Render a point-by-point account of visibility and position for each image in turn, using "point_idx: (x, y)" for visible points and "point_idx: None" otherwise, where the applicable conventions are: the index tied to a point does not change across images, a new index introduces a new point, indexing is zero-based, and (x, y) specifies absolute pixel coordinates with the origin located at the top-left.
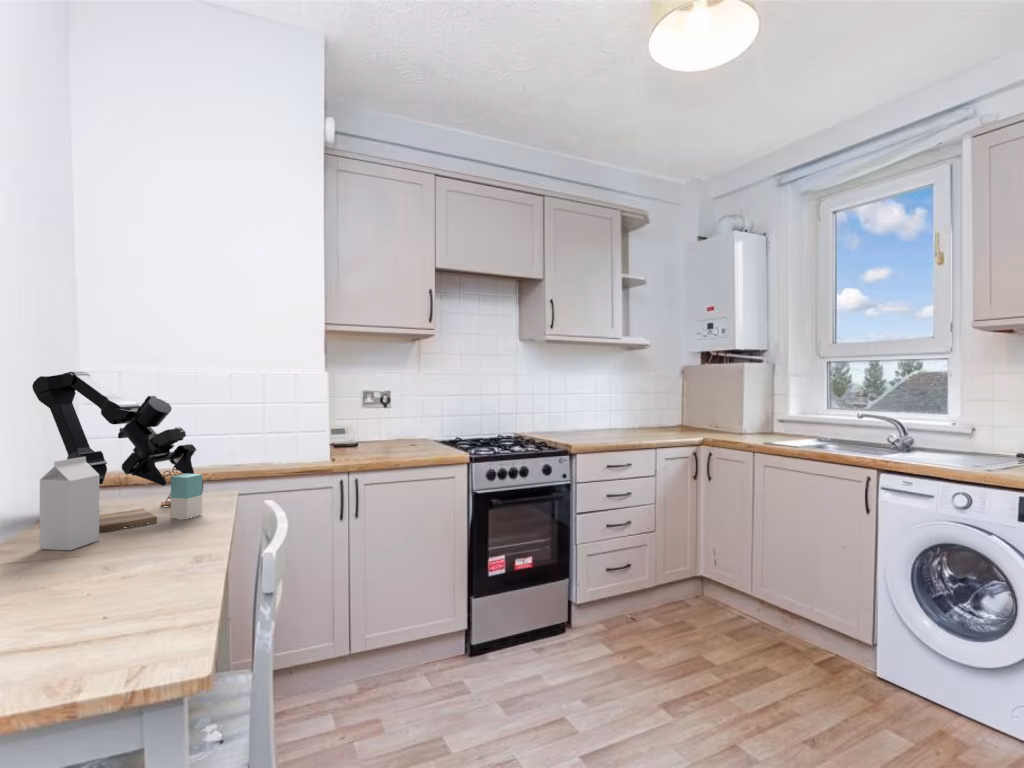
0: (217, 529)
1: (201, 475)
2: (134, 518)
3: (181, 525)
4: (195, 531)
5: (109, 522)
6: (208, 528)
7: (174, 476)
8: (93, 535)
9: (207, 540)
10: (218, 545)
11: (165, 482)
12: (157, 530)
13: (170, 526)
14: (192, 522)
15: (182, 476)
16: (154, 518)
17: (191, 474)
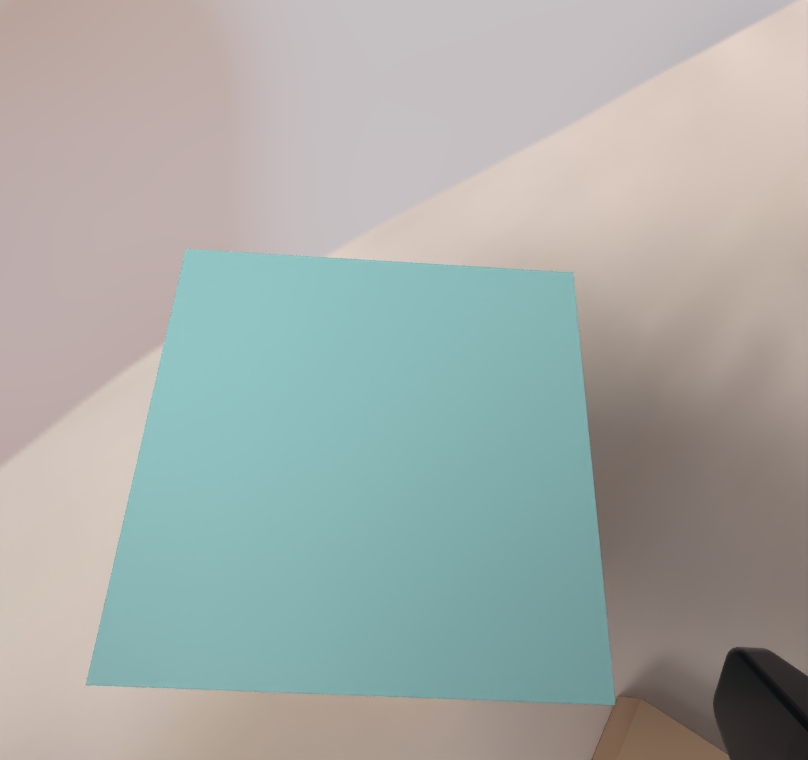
0: (601, 150)
1: (213, 263)
2: None
3: (608, 413)
4: (682, 233)
5: None
6: (602, 205)
7: (551, 645)
8: None
9: (774, 90)
10: (803, 17)
11: (770, 652)
12: (776, 487)
13: (659, 474)
14: None
15: (497, 451)
16: (657, 709)
17: (232, 437)
